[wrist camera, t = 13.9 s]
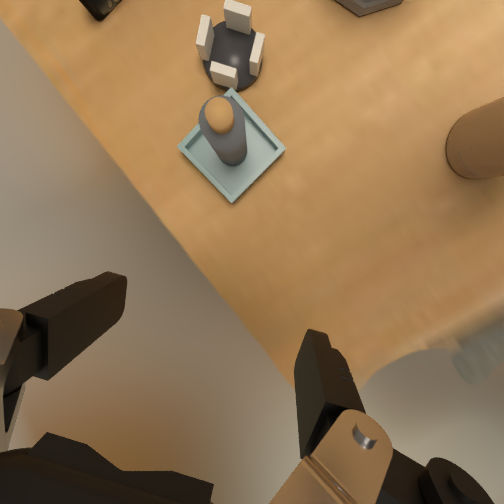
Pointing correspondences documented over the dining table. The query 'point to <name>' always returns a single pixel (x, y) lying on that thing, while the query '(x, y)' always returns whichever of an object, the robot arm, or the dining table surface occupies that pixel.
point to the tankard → (368, 5)
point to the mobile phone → (99, 7)
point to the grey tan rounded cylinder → (224, 129)
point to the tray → (245, 174)
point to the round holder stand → (231, 48)
